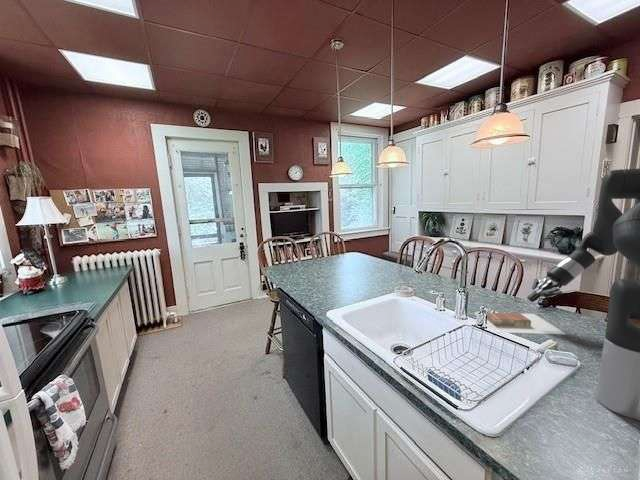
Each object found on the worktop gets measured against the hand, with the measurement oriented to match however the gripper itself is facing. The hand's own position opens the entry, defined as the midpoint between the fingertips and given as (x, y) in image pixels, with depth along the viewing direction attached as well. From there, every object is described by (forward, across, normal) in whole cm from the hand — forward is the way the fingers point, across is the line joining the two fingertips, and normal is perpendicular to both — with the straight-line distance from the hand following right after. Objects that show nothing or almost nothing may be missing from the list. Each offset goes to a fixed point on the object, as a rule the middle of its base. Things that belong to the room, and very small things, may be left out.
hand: (529, 300), depth 110 cm
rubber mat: (+11, 0, +4) cm, 12 cm away
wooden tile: (+7, 0, +6) cm, 9 cm away
